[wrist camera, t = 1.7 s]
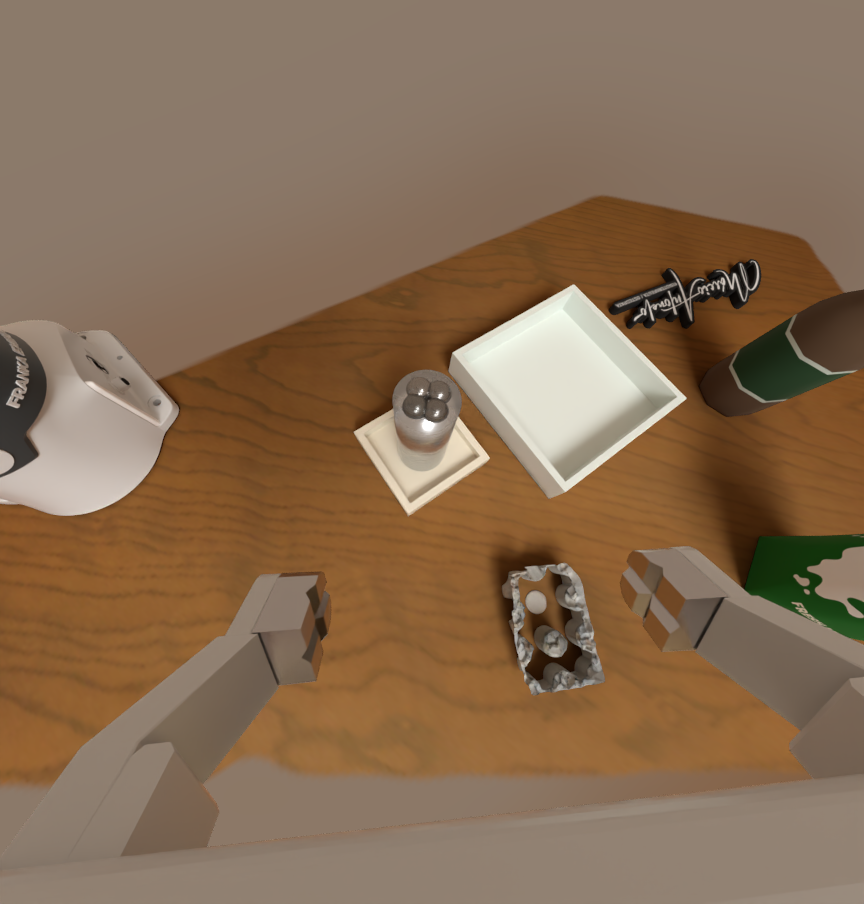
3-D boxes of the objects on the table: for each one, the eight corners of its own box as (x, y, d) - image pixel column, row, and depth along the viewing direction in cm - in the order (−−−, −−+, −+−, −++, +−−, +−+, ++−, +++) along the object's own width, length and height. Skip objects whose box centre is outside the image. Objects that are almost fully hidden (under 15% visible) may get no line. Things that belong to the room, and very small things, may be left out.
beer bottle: (685, 382, 43) (998, 187, 20) (723, 360, 45) (1051, 156, 22) (726, 429, 41) (1122, 272, 18) (764, 404, 43) (1171, 230, 20)
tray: (356, 438, 37) (353, 431, 35) (432, 393, 40) (434, 385, 38) (408, 516, 35) (408, 514, 33) (485, 463, 37) (490, 458, 35)
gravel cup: (388, 442, 36) (378, 384, 24) (427, 418, 38) (436, 352, 25) (415, 480, 35) (418, 441, 23) (454, 454, 36) (477, 404, 24)
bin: (448, 371, 41) (452, 352, 37) (560, 306, 45) (573, 284, 42) (548, 498, 36) (565, 492, 33) (661, 412, 41) (686, 398, 37)
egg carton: (496, 569, 34) (507, 570, 30) (562, 561, 35) (581, 561, 31) (515, 685, 31) (530, 703, 27) (588, 673, 31) (612, 689, 28)
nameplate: (738, 242, 51) (782, 287, 48) (729, 251, 52) (771, 295, 50) (603, 291, 45) (644, 345, 43) (597, 299, 47) (636, 352, 44)
